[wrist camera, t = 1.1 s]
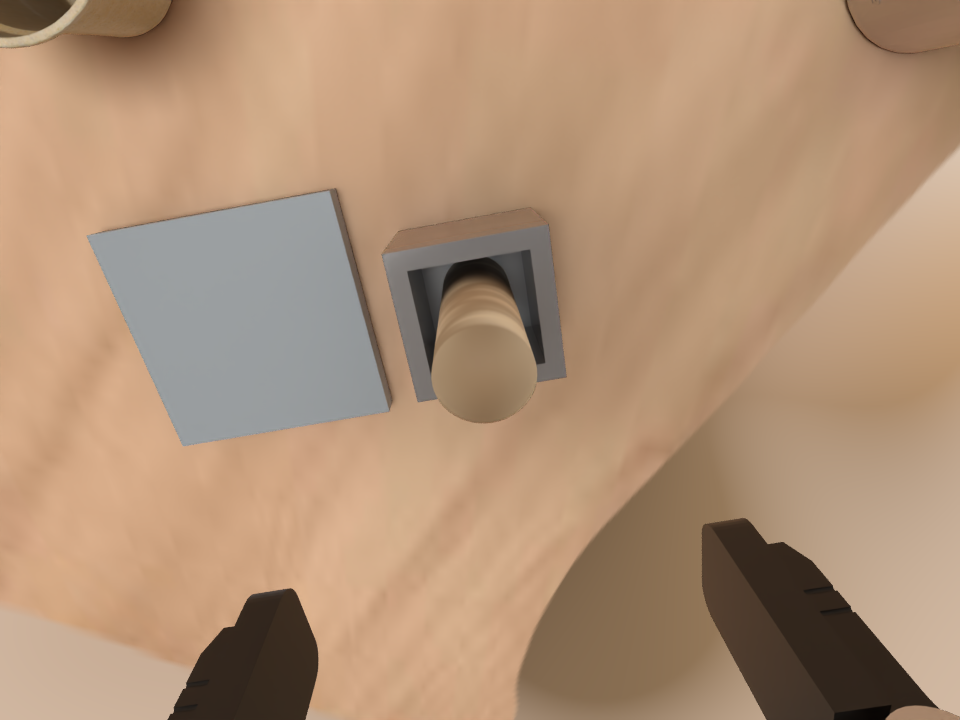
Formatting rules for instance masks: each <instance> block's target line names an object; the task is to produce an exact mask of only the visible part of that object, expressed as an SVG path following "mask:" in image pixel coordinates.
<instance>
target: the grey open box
mask: <svg viewBox="0 0 960 720" xmlns="http://www.w3.org/2000/svg"><path fill="white" fill-rule="evenodd" d="M484 257H488V258H490V259H492V260H494V261H496V262H497V263H498V264H499V265H500V266H501V267H502V268H503V270H504V271H505V273H506V275H507V278H508V281H509V284H510V287H511V290H512V293H513V296H514V299H515V302H516V305H517V308H518V311H519V314H520V317H521V320H522V323H523V326H524V329H525V332H526V335H527V338H528V341H529V344H530V347H531V349H532V352H533V355H534V358H535V361H536V366H537V382H541V381H547V380H553V379H559V378H565V377H567V376H566V368H565V359H564V351H563V343H562V334H561V326H560V317H559V309H558V300H557V292H556V283H555V275H554V266H553V258H552V250H551V241H550V233H549V224H548V223H547V222H545V221H544V220H543V219H542V218H541V217H540V216H539V215H538V214H537V213H536V212H535V211H534V210H533V209H532V208H531V207H530V208H524V209H519V210H513V211H508V212H502V213H497V214H491V215H486V216H480V217H475V218H469V219H464V220H458V221H453V222H447V223H442V224H436V225H431V226H425V227H420V228H414V229H409V230H403V231H398V232H397V234H396V235H395V237H394V238H393V239H392V241H391V242H390V243H389V245H388V246H387V248H386V249H385V250H384V252H383V253H382V258H383V262H384V266H385V270H386V275H387V279H388V283H389V287H390V291H391V295H392V299H393V303H394V307H395V311H396V315H397V319H398V323H399V328H400V332H401V336H402V340H403V344H404V348H405V352H406V356H407V360H408V364H409V368H410V372H411V376H412V381H413V385H414V389H415V393H416V397H417V401H418V402H423V401H429V400H435V399H438V398H437V396H436V394H435V392H434V389H433V386H432V380H431V372H432V364H433V357H434V350H435V342H436V335H437V327H438V320H439V312H440V305H441V298H442V290H443V283H444V278H445V276H446V273H447V272H448V270H449V269H450V267H451V266H452V265H453V264H454V263H456V262H462V261H467V260H473V259H478V258H484Z"/></svg>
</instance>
